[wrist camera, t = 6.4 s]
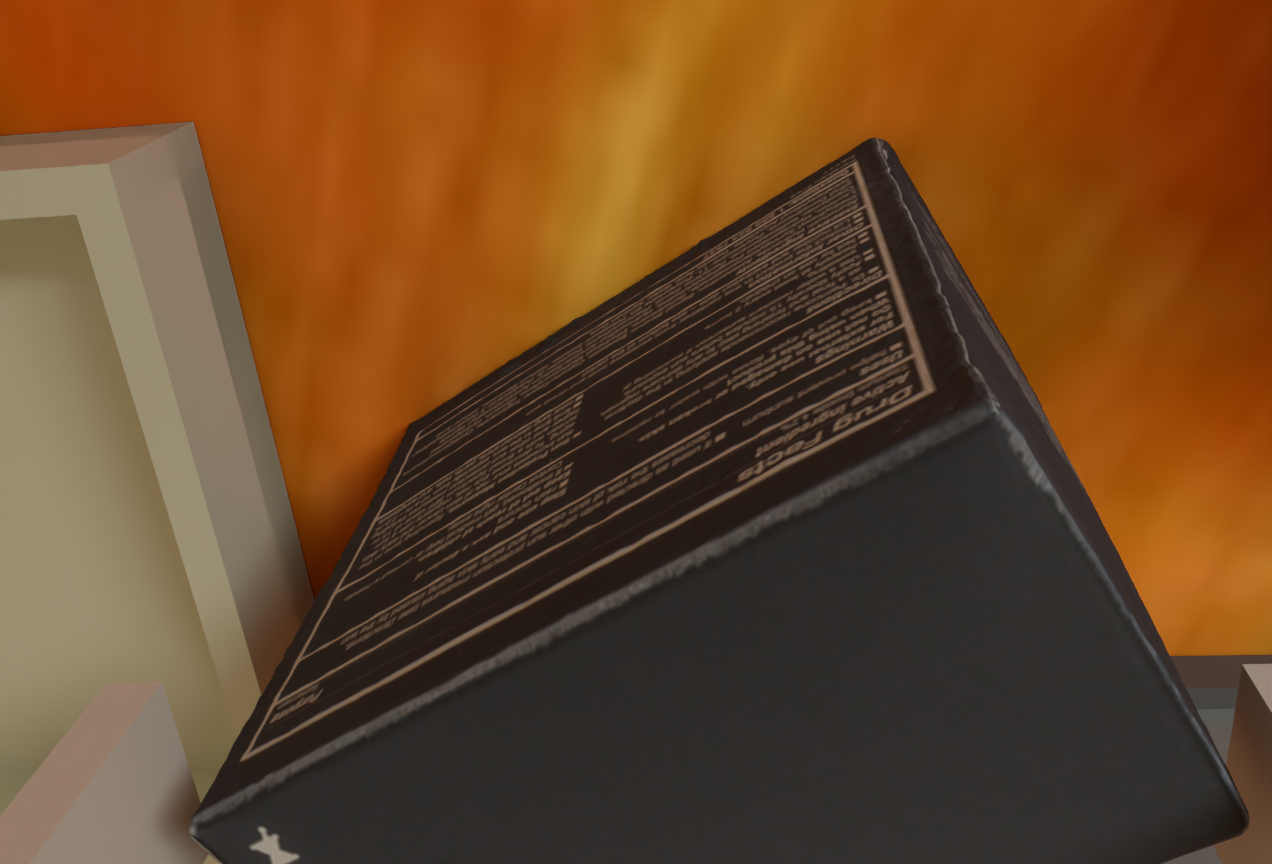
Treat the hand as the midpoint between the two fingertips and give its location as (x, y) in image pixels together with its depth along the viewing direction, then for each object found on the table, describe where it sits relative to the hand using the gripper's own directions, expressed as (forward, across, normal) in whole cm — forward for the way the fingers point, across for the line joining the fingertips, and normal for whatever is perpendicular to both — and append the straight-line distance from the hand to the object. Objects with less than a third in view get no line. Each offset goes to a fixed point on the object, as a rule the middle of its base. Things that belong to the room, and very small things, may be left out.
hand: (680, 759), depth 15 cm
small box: (+9, 0, 0) cm, 9 cm away
